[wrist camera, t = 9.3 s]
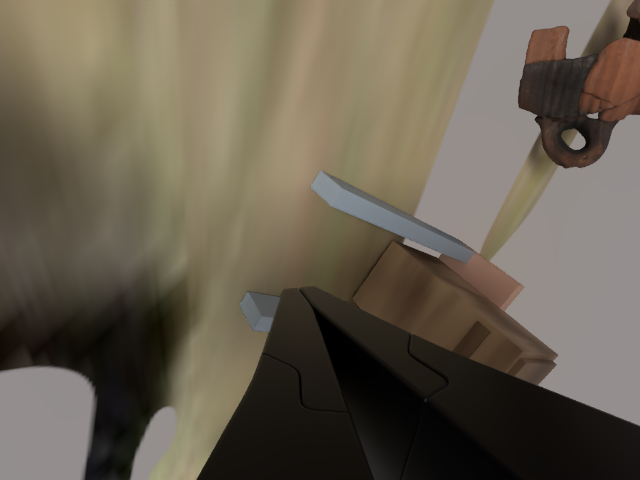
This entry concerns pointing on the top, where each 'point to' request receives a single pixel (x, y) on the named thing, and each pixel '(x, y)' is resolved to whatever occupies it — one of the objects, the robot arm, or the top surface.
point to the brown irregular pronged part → (581, 90)
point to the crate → (450, 313)
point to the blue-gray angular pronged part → (392, 219)
